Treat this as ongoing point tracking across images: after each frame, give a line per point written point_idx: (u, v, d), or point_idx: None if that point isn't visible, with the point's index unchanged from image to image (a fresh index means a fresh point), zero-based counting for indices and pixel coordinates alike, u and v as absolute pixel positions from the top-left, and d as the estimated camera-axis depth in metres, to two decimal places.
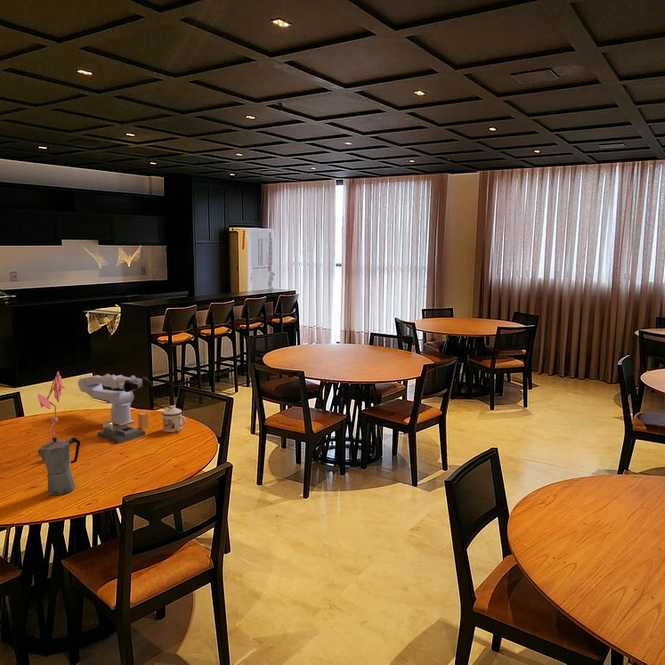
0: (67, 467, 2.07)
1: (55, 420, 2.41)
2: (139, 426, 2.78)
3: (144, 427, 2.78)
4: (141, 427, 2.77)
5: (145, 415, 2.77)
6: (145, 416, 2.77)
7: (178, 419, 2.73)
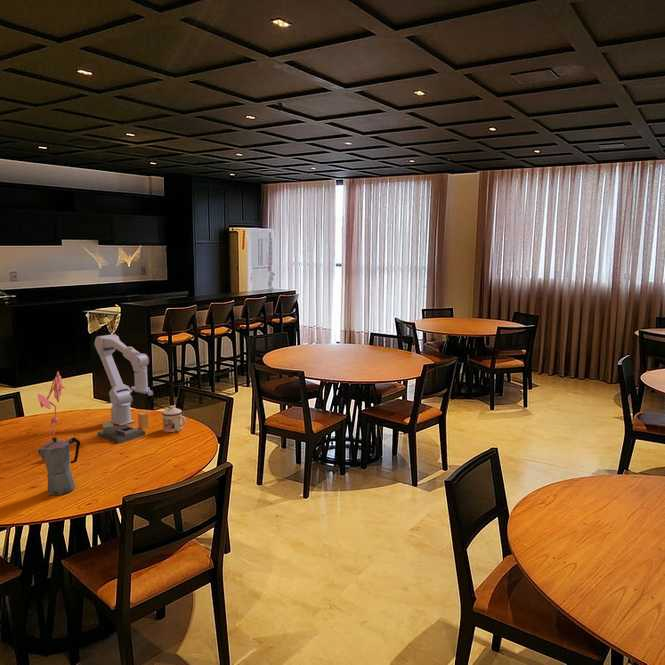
0: (67, 467, 2.07)
1: (55, 420, 2.41)
2: (139, 426, 2.78)
3: (144, 427, 2.78)
4: (141, 427, 2.77)
5: (145, 415, 2.77)
6: (145, 416, 2.77)
7: (178, 419, 2.73)
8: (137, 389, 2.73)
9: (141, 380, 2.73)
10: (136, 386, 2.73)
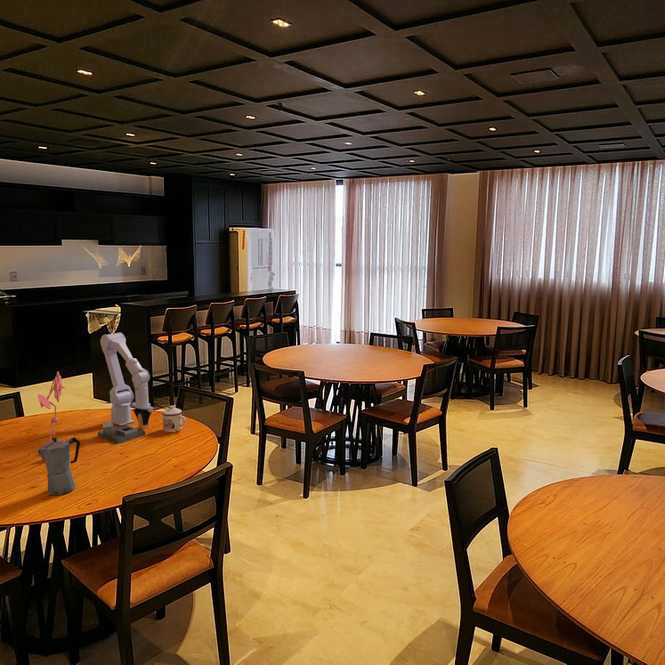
0: (67, 467, 2.07)
1: (55, 420, 2.41)
2: (139, 426, 2.78)
3: (144, 427, 2.78)
4: (141, 427, 2.77)
5: None
6: None
7: (178, 419, 2.73)
8: (138, 406, 2.75)
9: (142, 397, 2.74)
10: (137, 403, 2.75)
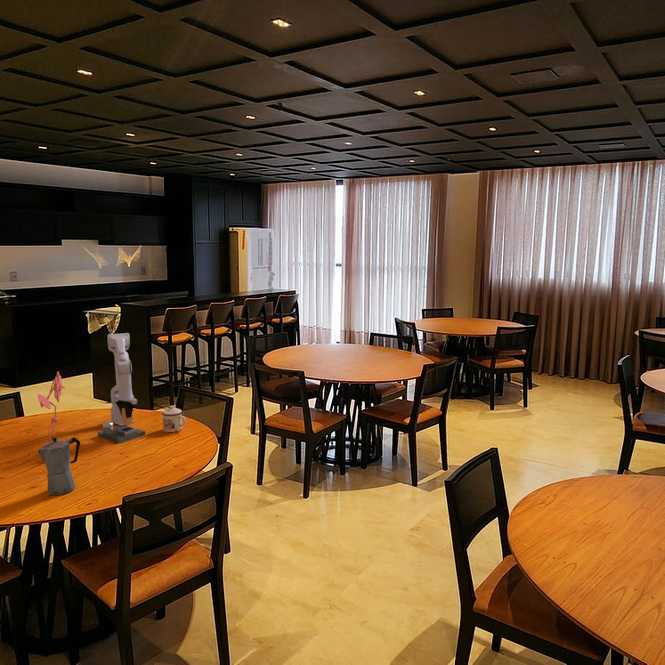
0: (67, 467, 2.07)
1: (55, 420, 2.41)
2: (123, 422, 2.65)
3: (128, 423, 2.64)
4: (125, 423, 2.64)
5: None
6: None
7: (178, 419, 2.73)
8: (120, 397, 2.61)
9: (121, 388, 2.60)
10: (119, 394, 2.61)
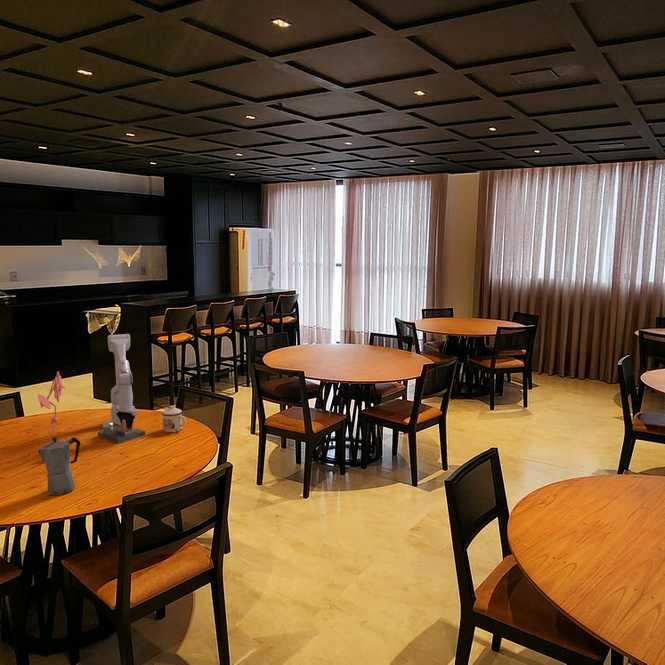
0: (67, 467, 2.07)
1: (55, 420, 2.41)
2: None
3: None
4: None
5: None
6: None
7: (178, 419, 2.73)
8: (121, 409, 2.62)
9: (122, 399, 2.61)
10: (120, 405, 2.62)
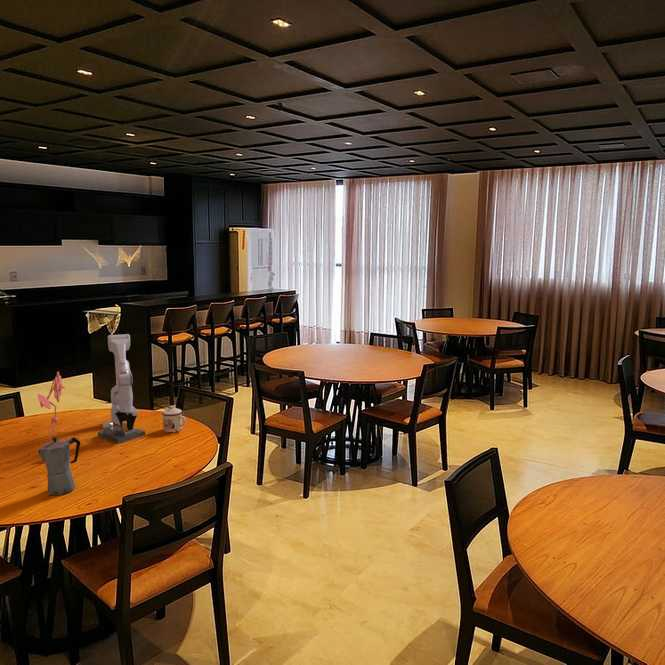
0: (67, 467, 2.07)
1: (55, 420, 2.41)
2: None
3: None
4: None
5: None
6: None
7: (178, 419, 2.73)
8: (121, 409, 2.62)
9: (122, 400, 2.61)
10: (120, 406, 2.62)
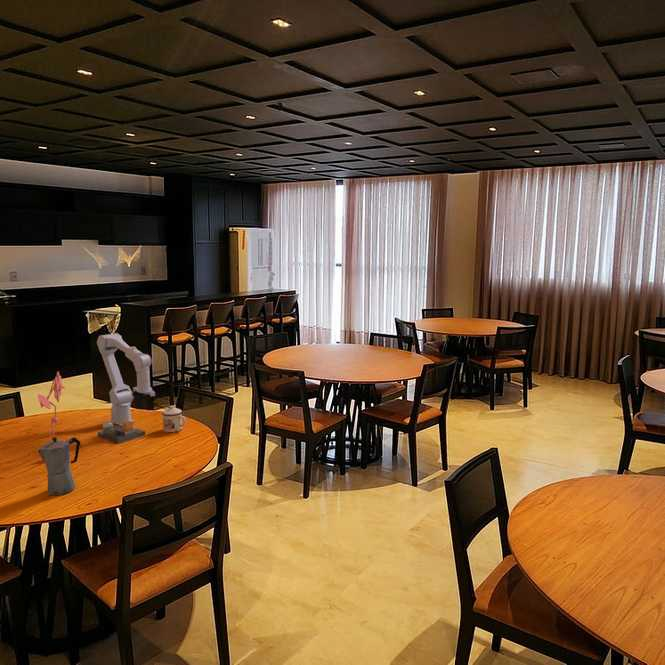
0: (67, 467, 2.07)
1: (55, 420, 2.41)
2: None
3: None
4: None
5: (130, 423, 2.65)
6: (130, 424, 2.65)
7: (178, 419, 2.73)
8: (139, 390, 2.72)
9: (143, 381, 2.72)
10: (138, 387, 2.72)
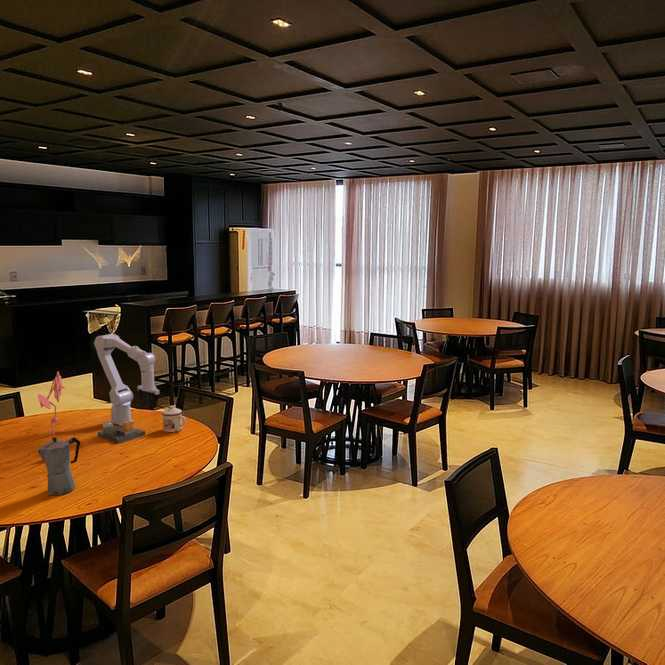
0: (67, 467, 2.07)
1: (55, 420, 2.41)
2: None
3: None
4: None
5: (130, 423, 2.65)
6: (130, 424, 2.65)
7: (178, 419, 2.73)
8: (144, 388, 2.75)
9: (149, 379, 2.75)
10: (143, 385, 2.75)
